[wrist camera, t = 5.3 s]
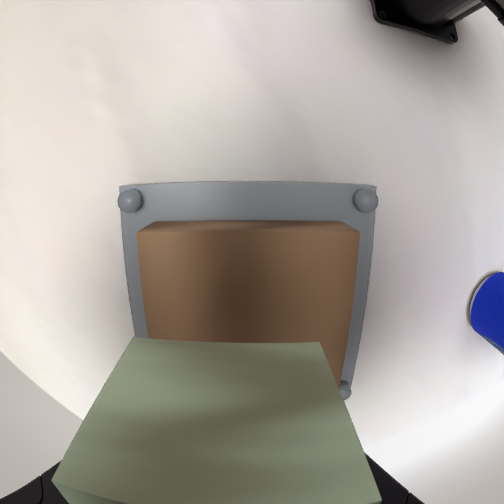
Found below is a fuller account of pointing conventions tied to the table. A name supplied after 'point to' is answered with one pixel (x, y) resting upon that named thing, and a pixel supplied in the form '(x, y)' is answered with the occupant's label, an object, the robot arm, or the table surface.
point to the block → (217, 430)
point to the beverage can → (489, 310)
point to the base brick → (250, 282)
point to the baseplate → (252, 208)
